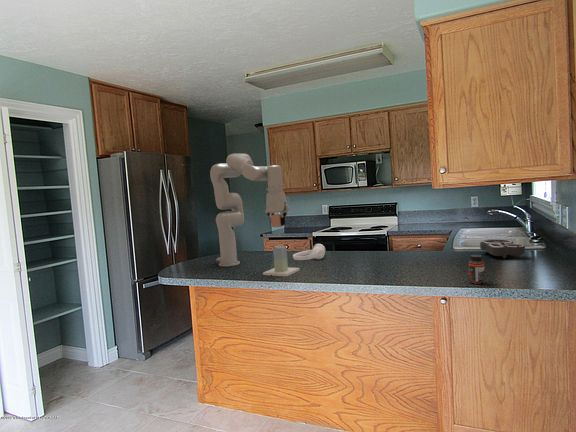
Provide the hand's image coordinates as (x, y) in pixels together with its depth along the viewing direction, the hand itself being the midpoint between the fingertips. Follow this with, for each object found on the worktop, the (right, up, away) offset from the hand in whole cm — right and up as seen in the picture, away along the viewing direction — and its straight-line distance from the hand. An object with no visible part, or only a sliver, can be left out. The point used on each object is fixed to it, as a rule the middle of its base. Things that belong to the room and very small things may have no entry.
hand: (278, 224), depth 208 cm
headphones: (+18, -21, +38) cm, 47 cm away
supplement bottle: (+82, -23, -42) cm, 95 cm away
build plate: (+2, -25, +2) cm, 25 cm away
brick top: (0, -1, 0) cm, 1 cm away
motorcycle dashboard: (+118, -17, +6) cm, 119 cm away
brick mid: (+1, -18, +1) cm, 18 cm away
